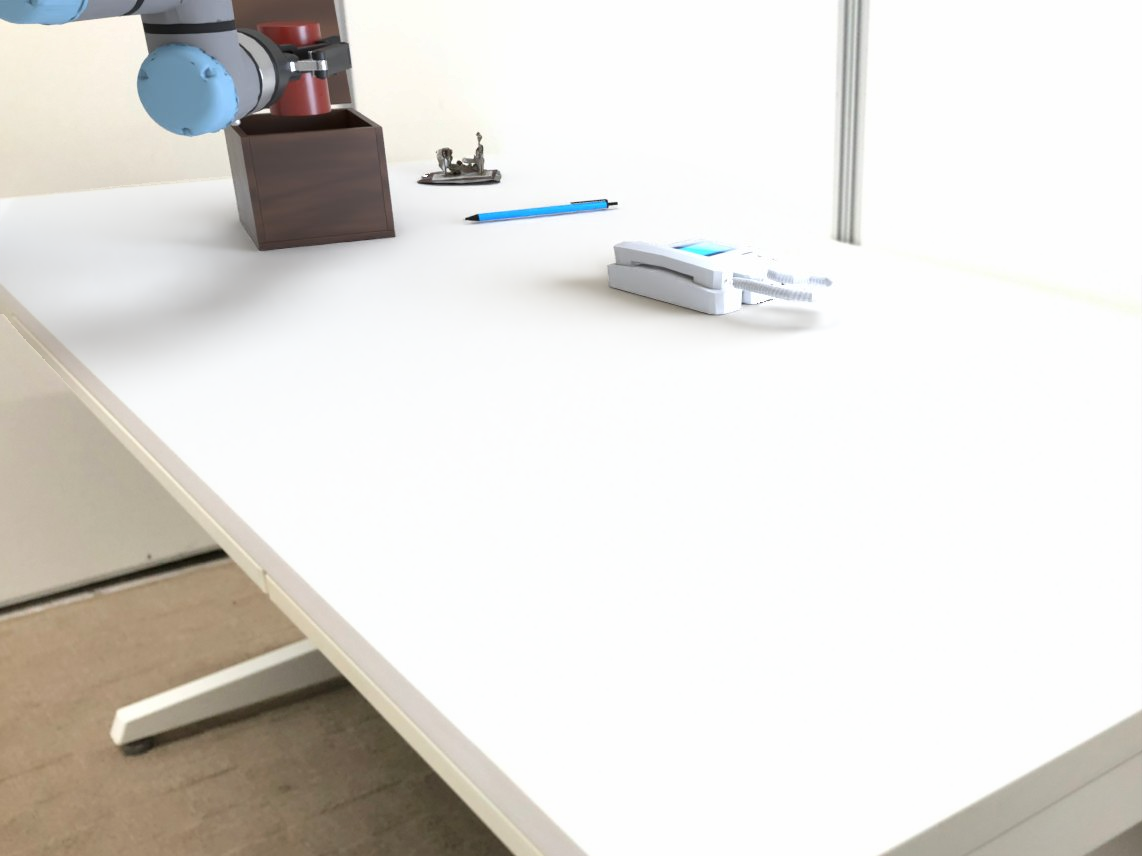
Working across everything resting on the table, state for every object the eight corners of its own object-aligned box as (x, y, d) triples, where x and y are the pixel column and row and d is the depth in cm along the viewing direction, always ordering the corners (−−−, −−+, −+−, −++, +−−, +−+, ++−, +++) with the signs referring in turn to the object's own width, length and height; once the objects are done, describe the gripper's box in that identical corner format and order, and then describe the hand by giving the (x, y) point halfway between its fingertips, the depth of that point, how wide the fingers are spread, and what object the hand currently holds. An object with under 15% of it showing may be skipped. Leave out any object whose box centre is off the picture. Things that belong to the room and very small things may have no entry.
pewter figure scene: (394, 168, 176) (457, 128, 180) (419, 211, 180) (480, 170, 184) (430, 170, 167) (496, 127, 171) (456, 215, 171) (520, 172, 174)
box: (395, 236, 146) (382, 126, 140) (259, 250, 140) (240, 136, 135) (365, 208, 159) (351, 107, 154) (239, 220, 153) (221, 115, 148)
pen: (618, 207, 158) (618, 198, 158) (465, 223, 151) (464, 214, 150) (616, 206, 159) (615, 196, 159) (462, 222, 152) (462, 212, 151)
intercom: (797, 288, 110) (601, 240, 125) (796, 338, 111) (603, 285, 127) (893, 259, 118) (699, 218, 133) (891, 306, 120) (700, 260, 135)
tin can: (259, 115, 140) (244, 26, 136) (287, 107, 146) (273, 20, 142) (315, 116, 139) (302, 26, 135) (341, 108, 145) (329, 21, 141)
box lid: (324, -56, 149) (323, -55, 150) (188, -54, 144) (188, -52, 144) (351, 102, 153) (350, 103, 154) (221, 111, 148) (220, 112, 148)
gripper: (143, 115, 125) (224, 85, 146) (345, 113, 126) (397, 83, 146) (126, 31, 122) (211, 13, 143) (333, 30, 122) (389, 11, 143)
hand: (305, 48), depth 144 cm, fingers closed on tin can, 6 cm apart
